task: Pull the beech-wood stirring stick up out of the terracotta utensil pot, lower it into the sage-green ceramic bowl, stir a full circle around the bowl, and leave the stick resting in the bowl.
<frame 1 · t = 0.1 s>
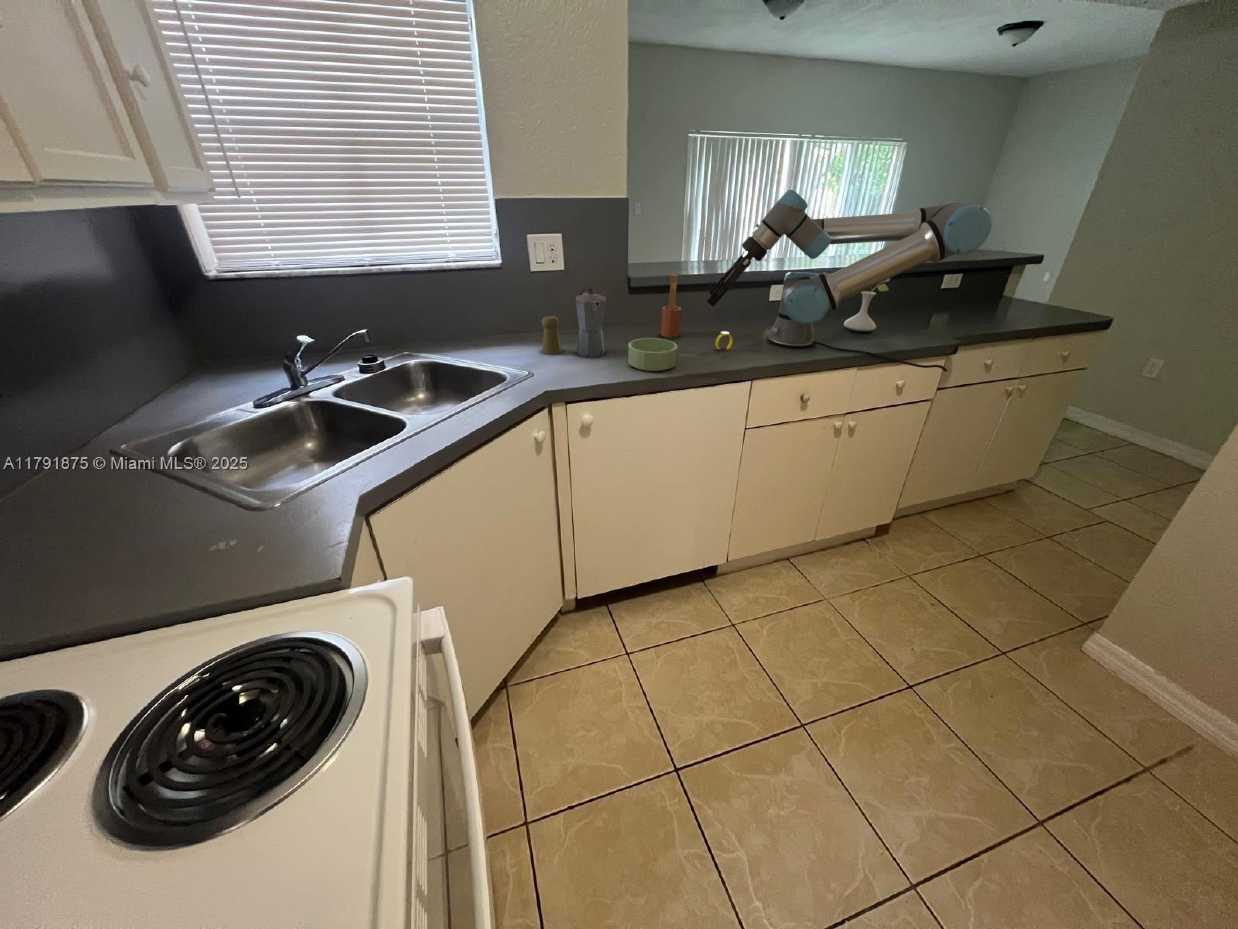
hand: (710, 299, 156), 15 cm above the worktop, tool tilted 35°, fingers open, 13 cm apart
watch: (723, 350, 161), on the worktop
moka pot: (589, 353, 156), on the worktop
olive pepper grinder: (551, 352, 156), on the worktop
bowl: (651, 364, 147), on the worktop
stirring stick: (669, 334, 172), point 1 cm above the worktop, touching utensil pot
flower in vase: (860, 331, 185), on the worktop
utensil pot: (669, 336, 173), on the worktop
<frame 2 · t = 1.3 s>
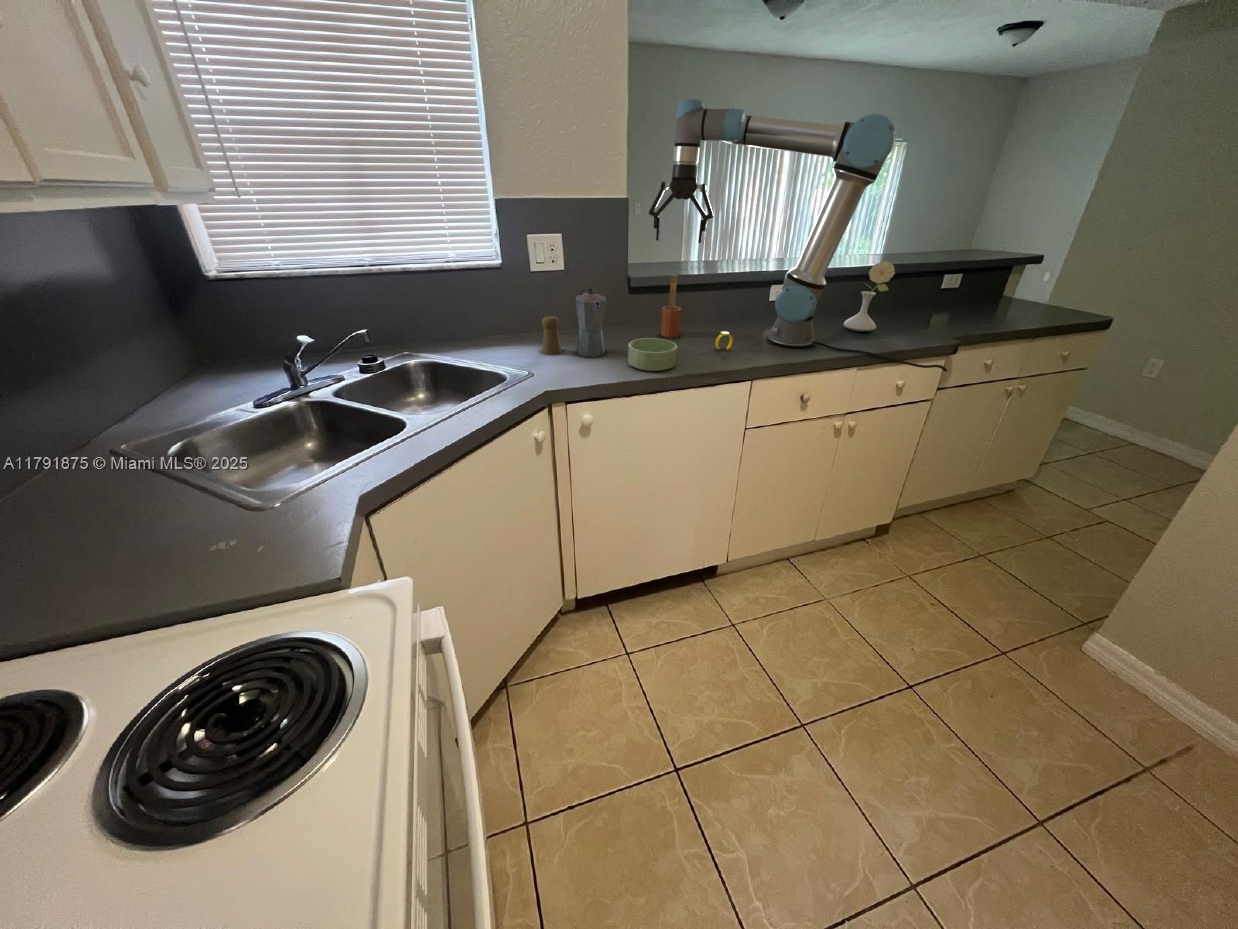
hand: (678, 241, 156), 31 cm above the worktop, tool pointing down, fingers open, 13 cm apart
nothing on the worktop moved.
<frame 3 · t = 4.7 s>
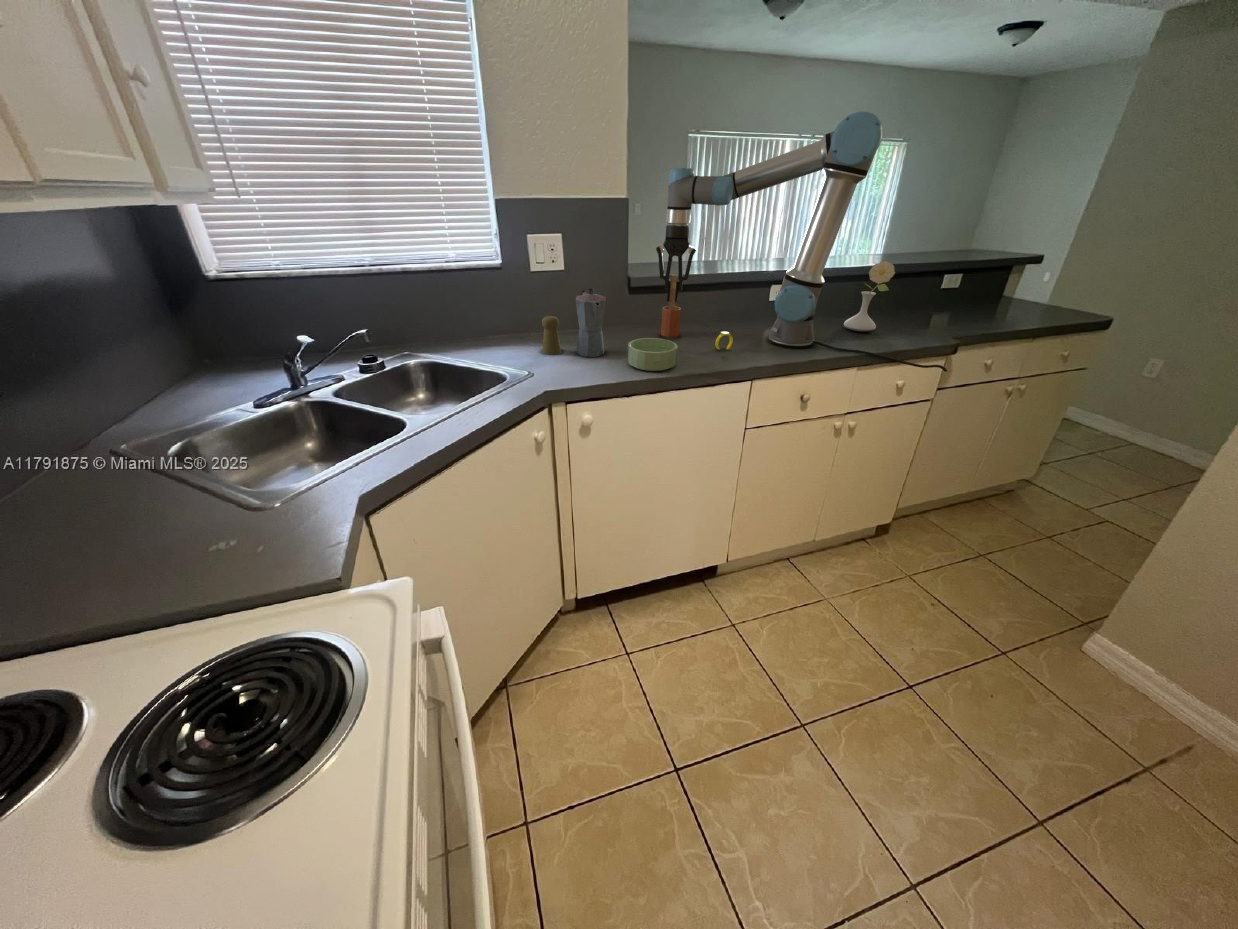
hand: (672, 300, 166), 12 cm above the worktop, tool pointing down, fingers closed on stirring stick, 2 cm apart
stirring stick: (669, 334, 172), point 1 cm above the worktop, touching gripper
everything else where it was.
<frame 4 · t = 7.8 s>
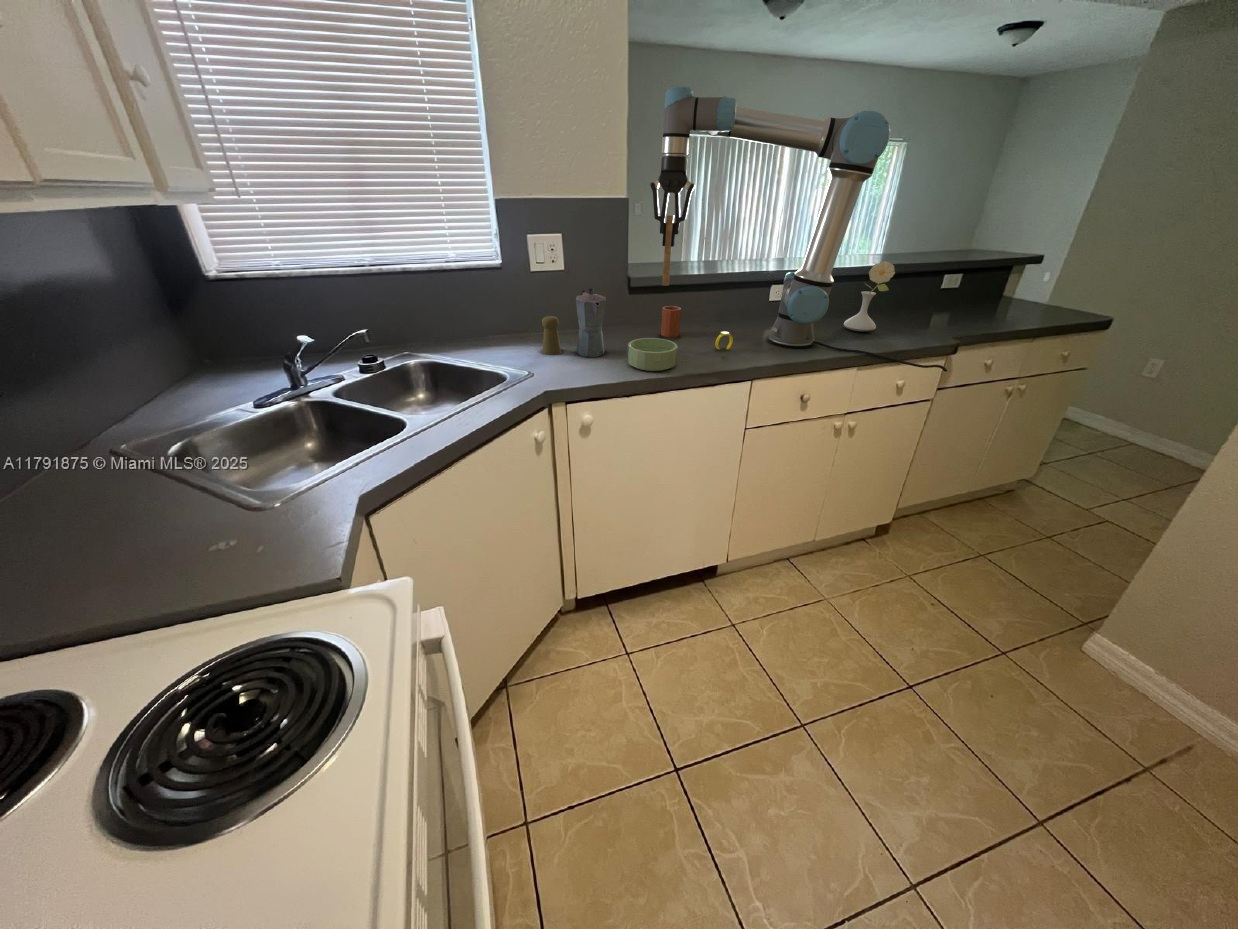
hand: (668, 245, 150), 31 cm above the worktop, tool pointing down, fingers closed on stirring stick, 2 cm apart
stirring stick: (665, 285, 156), point 19 cm above the worktop, touching gripper
everything else where it was.
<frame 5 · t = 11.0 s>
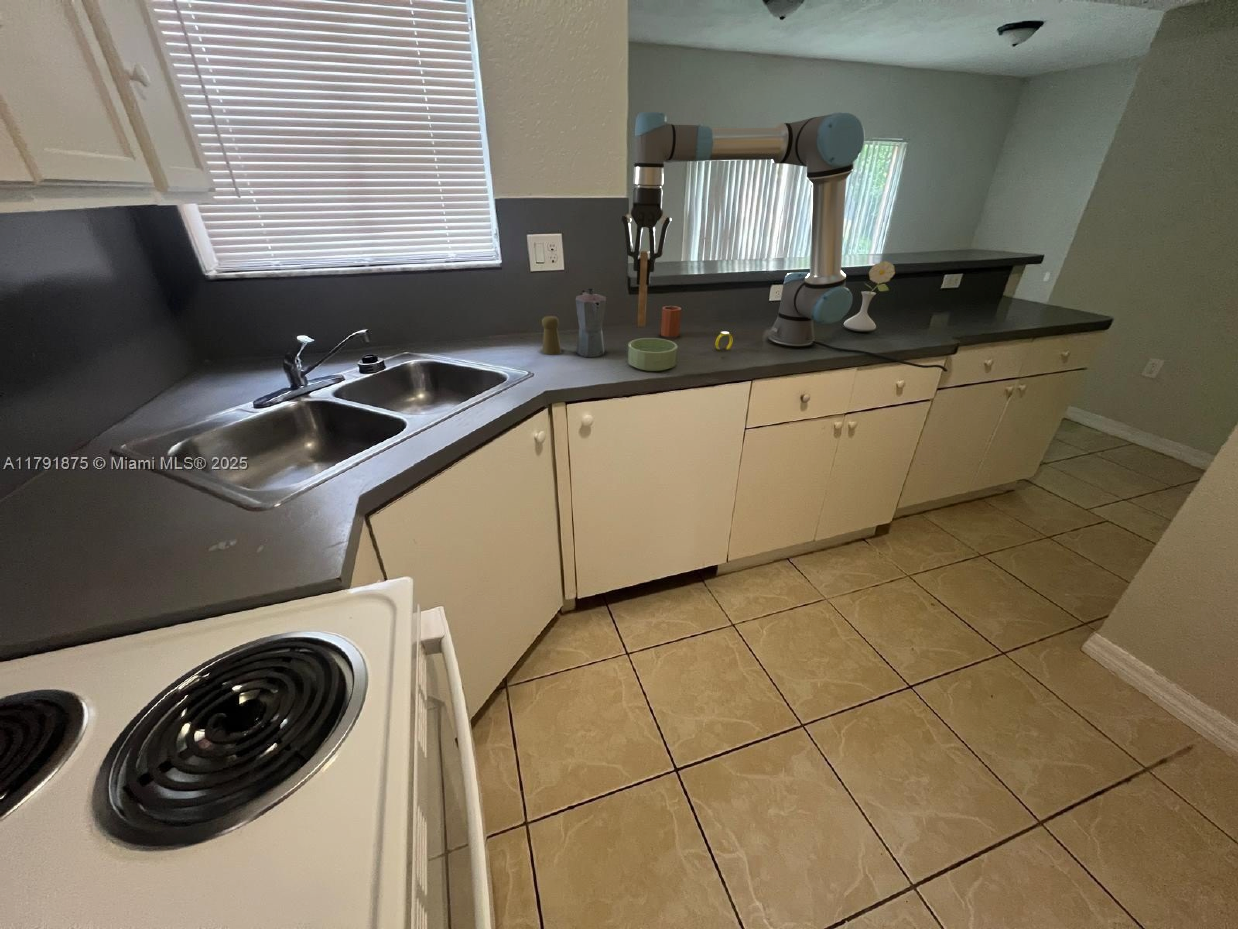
hand: (643, 283, 136), 23 cm above the worktop, tool pointing down, fingers closed on stirring stick, 2 cm apart
stirring stick: (641, 325, 142), point 11 cm above the worktop, touching gripper
everything else where it was.
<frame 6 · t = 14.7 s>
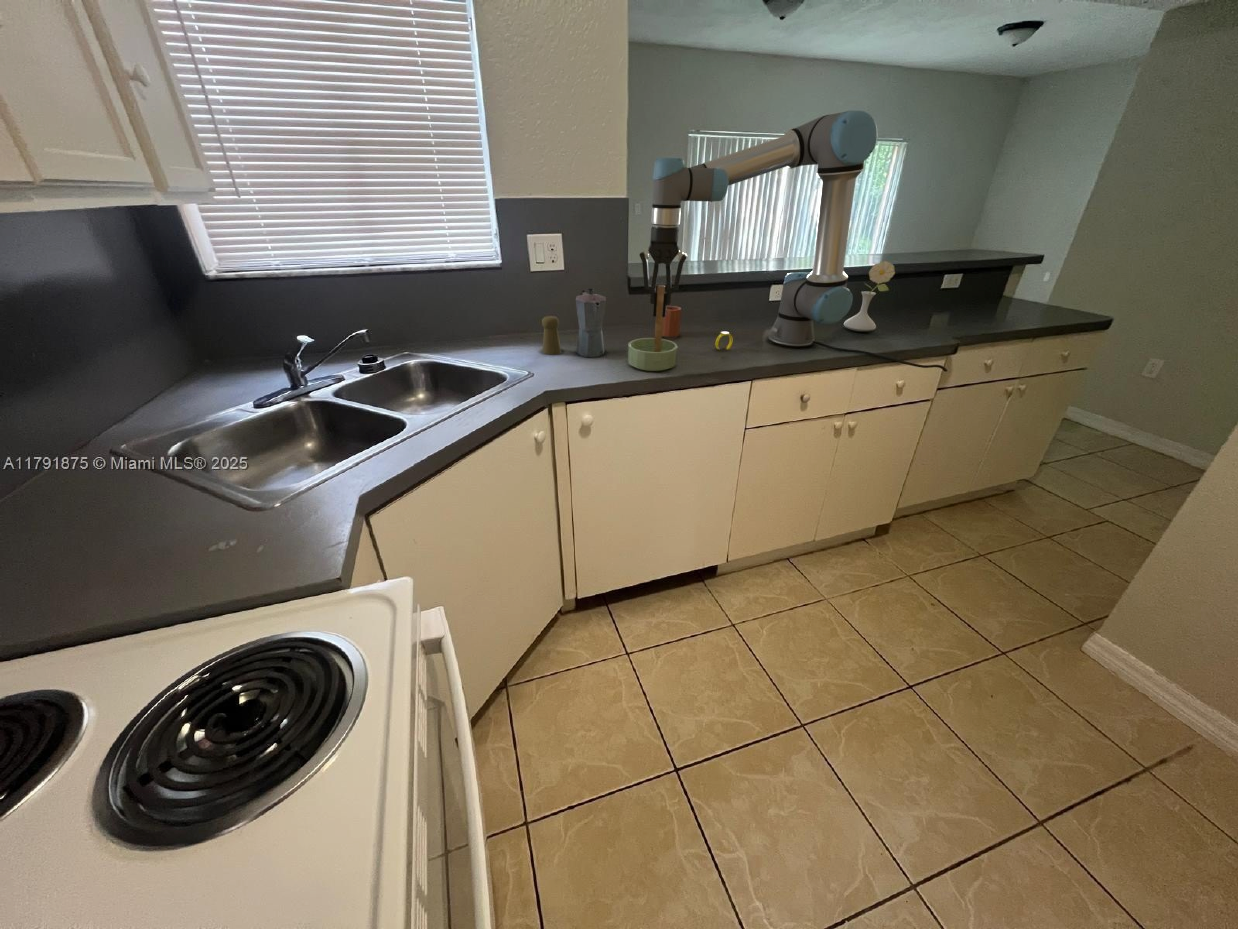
hand: (659, 315, 141), 14 cm above the worktop, tool pointing down, fingers closed on stirring stick, 2 cm apart
stirring stick: (657, 354, 147), point 3 cm above the worktop, touching gripper
everything else where it was.
when the fingers open (12 cm above the worktop, at t = 17.4 s): stirring stick stays where it is, resting on bowl.
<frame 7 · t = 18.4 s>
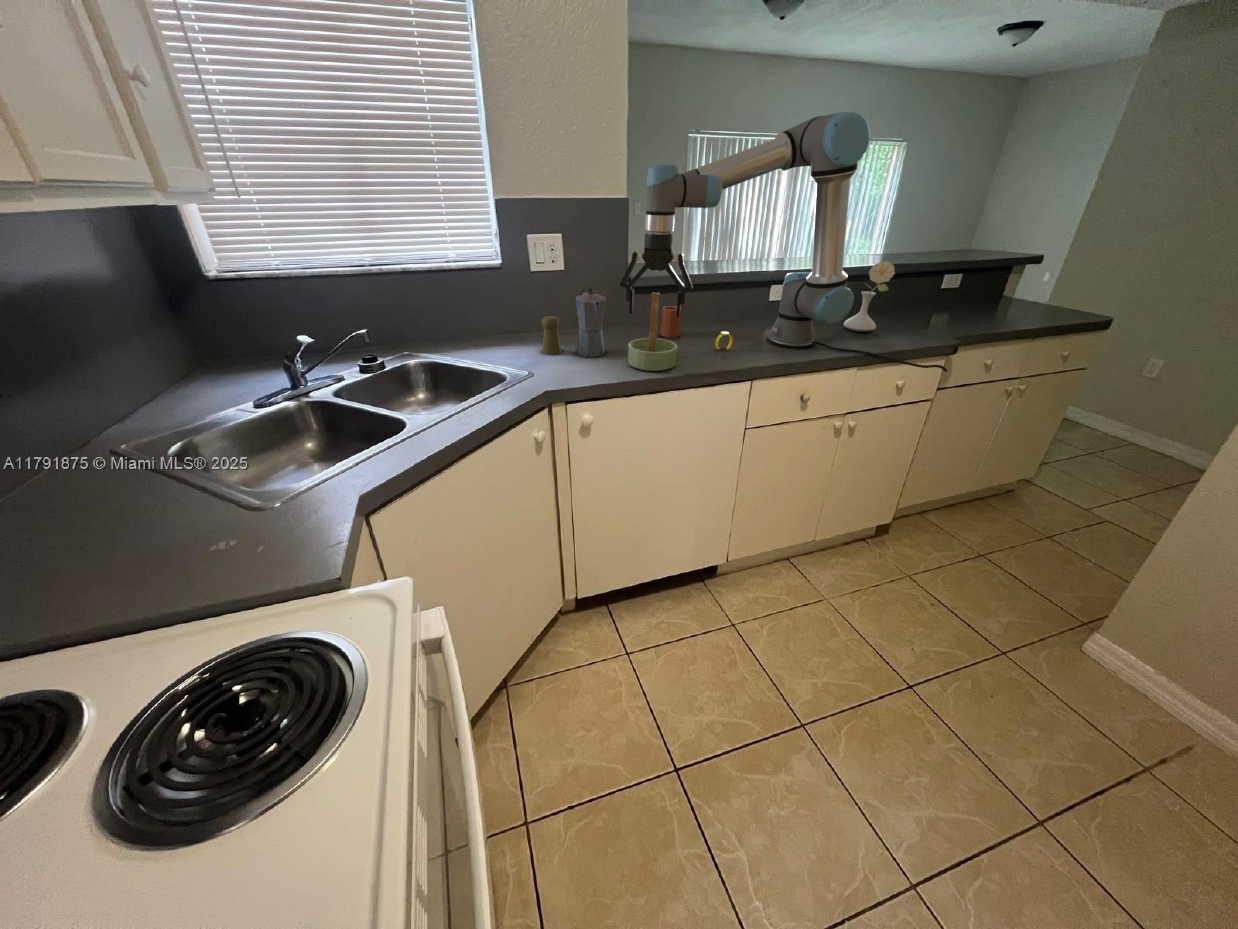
hand: (654, 314, 139), 15 cm above the worktop, tool pointing down, fingers open, 13 cm apart
stirring stick: (651, 361, 147), point 1 cm above the worktop, touching bowl
everything else where it was.
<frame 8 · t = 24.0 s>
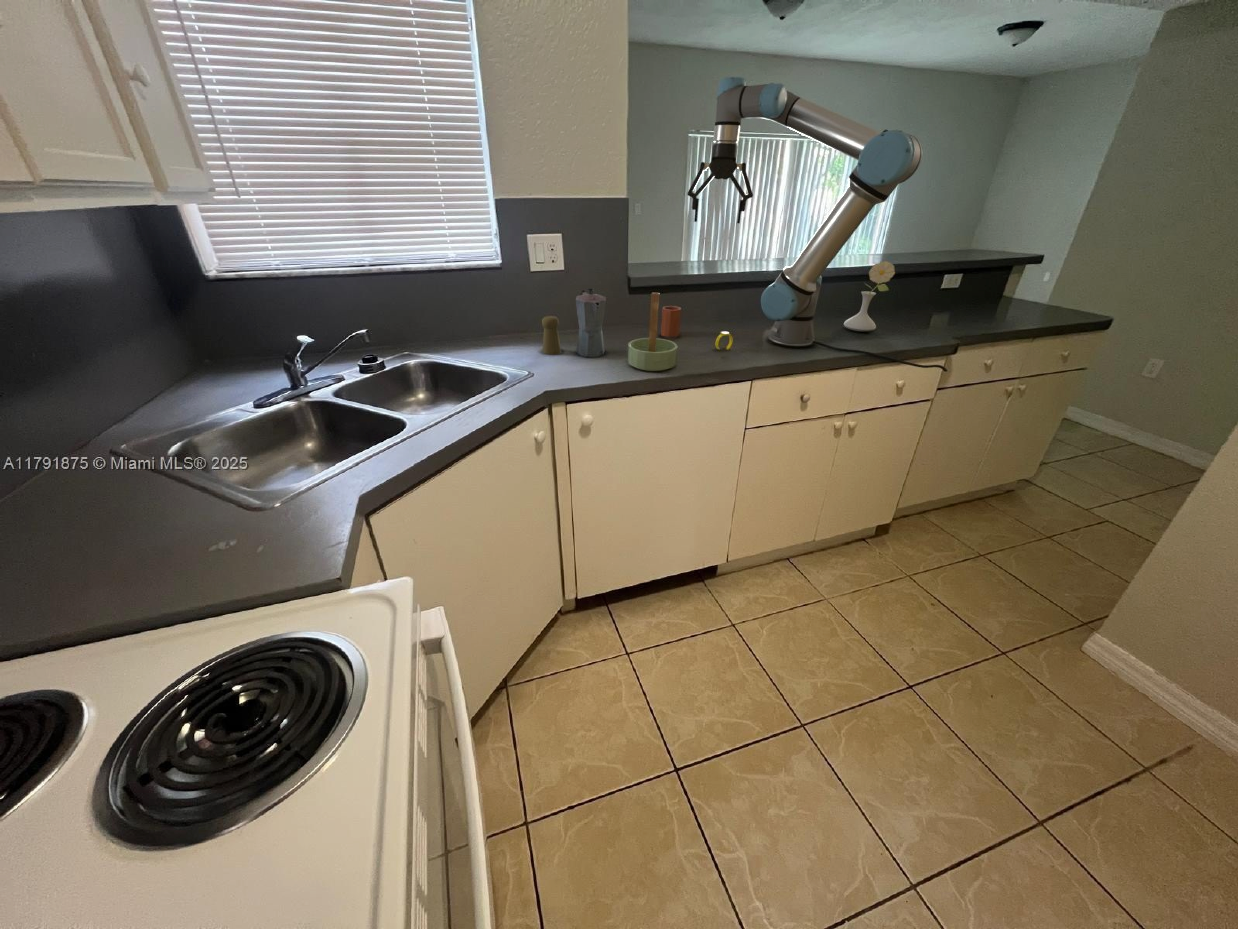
hand: (716, 222, 156), 37 cm above the worktop, tool pointing down, fingers open, 13 cm apart
nothing on the worktop moved.
at the end: stirring stick inside the target area in the bowl (0.1 cm from its centre), point 0.8 cm above the bowl's base; the gripper is holding nothing; stirring stick moved 31.1 cm from its start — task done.
